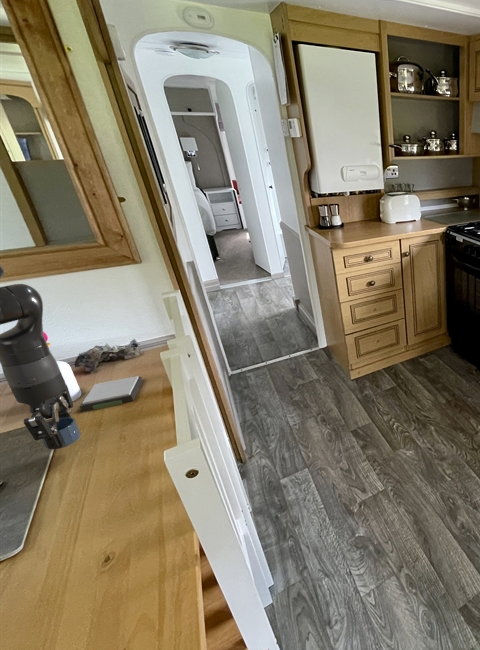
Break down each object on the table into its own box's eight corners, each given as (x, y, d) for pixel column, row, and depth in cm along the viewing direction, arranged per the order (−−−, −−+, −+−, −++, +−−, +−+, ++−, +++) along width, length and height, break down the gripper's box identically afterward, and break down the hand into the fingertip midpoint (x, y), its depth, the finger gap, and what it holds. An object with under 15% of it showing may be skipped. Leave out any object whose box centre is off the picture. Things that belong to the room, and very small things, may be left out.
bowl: (41, 453, 83) (33, 437, 82) (53, 436, 88) (45, 421, 87) (75, 445, 86) (68, 429, 84) (85, 429, 91) (78, 414, 89)
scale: (82, 414, 102) (78, 405, 101) (96, 391, 111) (93, 383, 110) (133, 403, 107) (130, 394, 106) (143, 382, 116) (140, 374, 115)
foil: (145, 353, 126) (85, 342, 116) (130, 381, 127) (69, 373, 116) (144, 338, 135) (88, 327, 124) (130, 365, 135) (73, 356, 124)
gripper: (27, 363, 85) (54, 423, 91) (-10, 399, 73) (24, 465, 79) (71, 356, 88) (95, 415, 94) (43, 389, 76) (72, 454, 82)
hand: (62, 437), depth 87 cm, fingers closed on bowl, 6 cm apart
